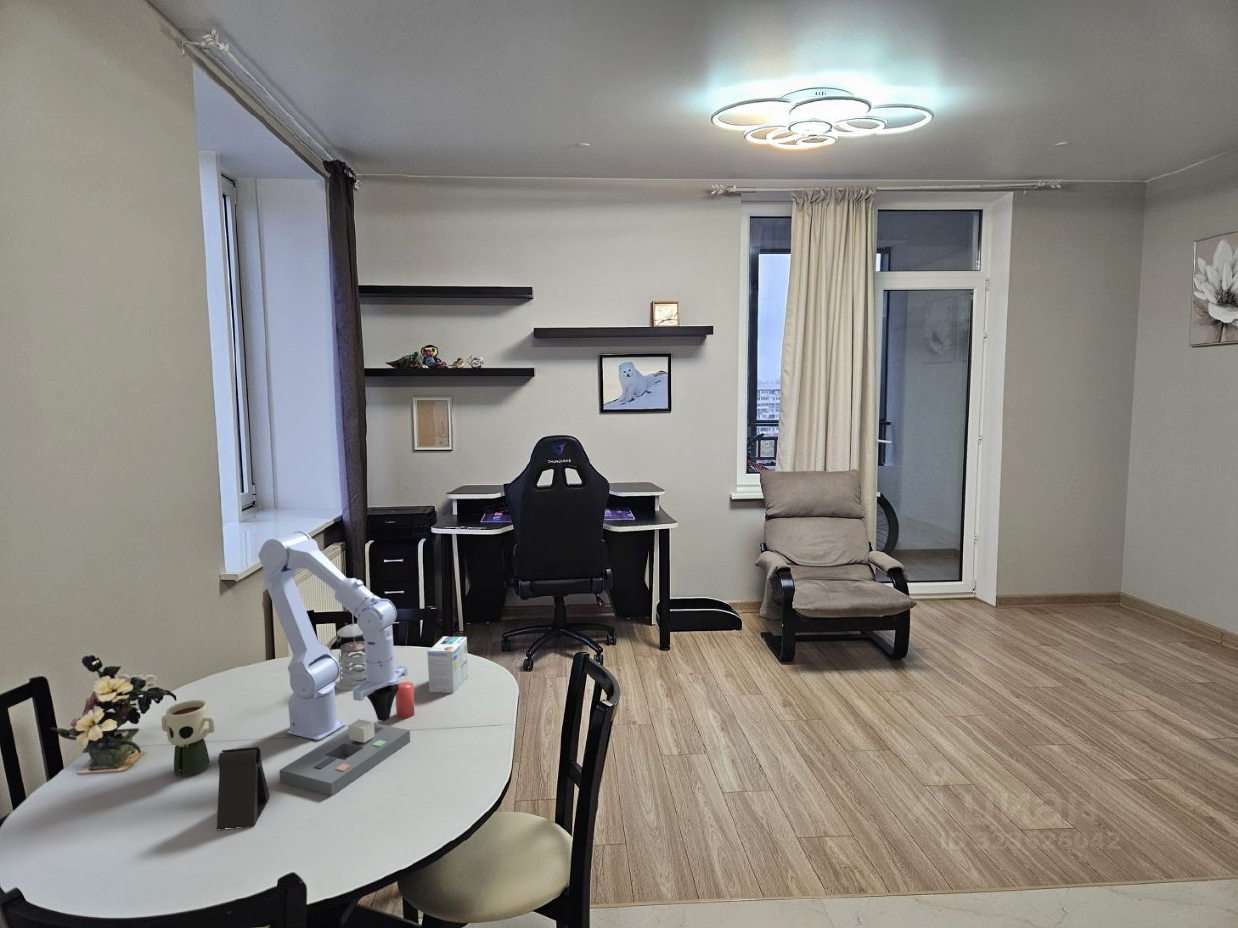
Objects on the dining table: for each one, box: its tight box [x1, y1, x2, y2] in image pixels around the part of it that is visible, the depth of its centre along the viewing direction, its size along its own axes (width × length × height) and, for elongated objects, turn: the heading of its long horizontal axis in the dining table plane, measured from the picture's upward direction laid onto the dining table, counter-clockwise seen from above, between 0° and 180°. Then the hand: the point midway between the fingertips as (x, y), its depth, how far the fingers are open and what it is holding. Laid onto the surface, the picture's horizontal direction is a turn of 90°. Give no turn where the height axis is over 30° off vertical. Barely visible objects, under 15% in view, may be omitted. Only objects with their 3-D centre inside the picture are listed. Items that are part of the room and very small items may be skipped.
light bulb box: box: [427, 636, 469, 694], centre depth 182 cm, size 11×7×11 cm, turn 172°
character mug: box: [161, 699, 216, 776], centre depth 142 cm, size 11×7×13 cm, turn 85°
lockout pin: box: [395, 681, 416, 720], centre depth 165 cm, size 4×4×7 cm
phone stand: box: [216, 746, 271, 830], centre depth 127 cm, size 9×6×12 cm, turn 10°
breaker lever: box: [347, 718, 375, 743], centre depth 148 cm, size 4×3×3 cm
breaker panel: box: [279, 722, 411, 797], centre depth 145 cm, size 13×22×3 cm, turn 157°
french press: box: [327, 613, 367, 691], centre depth 183 cm, size 10×12×25 cm
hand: (383, 719), depth 154 cm, fingers closed
